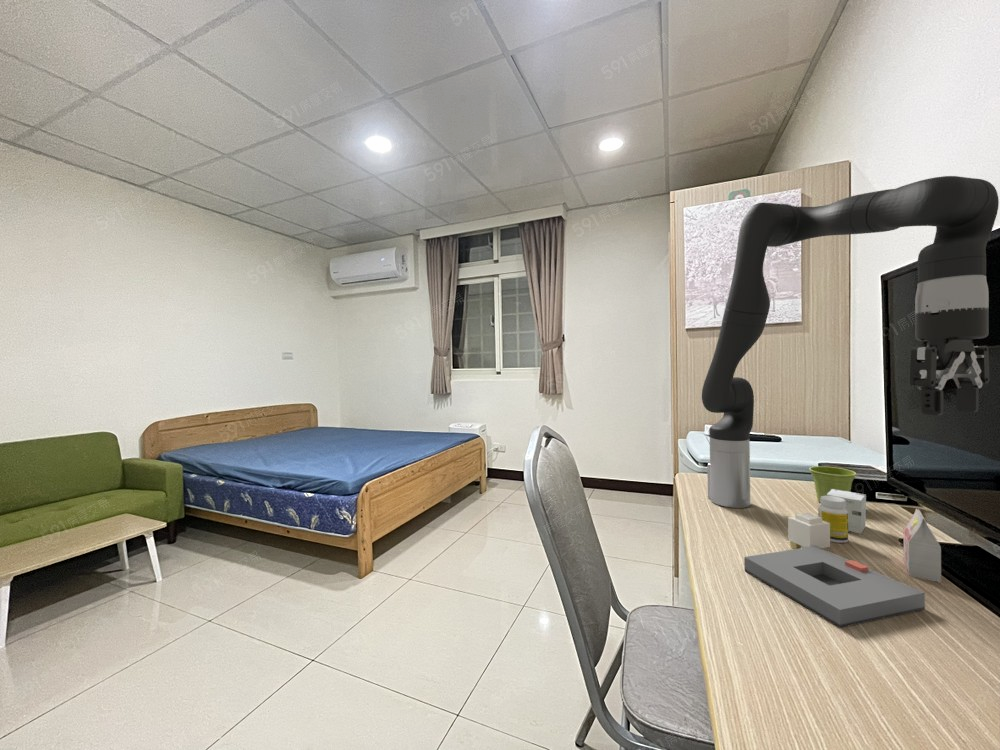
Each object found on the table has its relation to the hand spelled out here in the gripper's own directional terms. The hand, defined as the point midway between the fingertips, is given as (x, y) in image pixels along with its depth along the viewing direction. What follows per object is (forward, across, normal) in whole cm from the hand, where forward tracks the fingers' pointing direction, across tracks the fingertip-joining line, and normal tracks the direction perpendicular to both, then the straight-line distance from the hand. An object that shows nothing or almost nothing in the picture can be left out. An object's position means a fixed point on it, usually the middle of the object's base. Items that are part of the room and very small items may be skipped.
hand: (950, 413), depth 62 cm
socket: (+28, +17, -7) cm, 34 cm away
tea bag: (+29, -4, -6) cm, 30 cm away
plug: (+28, +6, -17) cm, 34 cm away
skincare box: (+29, -13, -23) cm, 39 cm away
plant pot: (+29, -26, -34) cm, 52 cm away
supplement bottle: (+29, -4, -20) cm, 35 cm away
